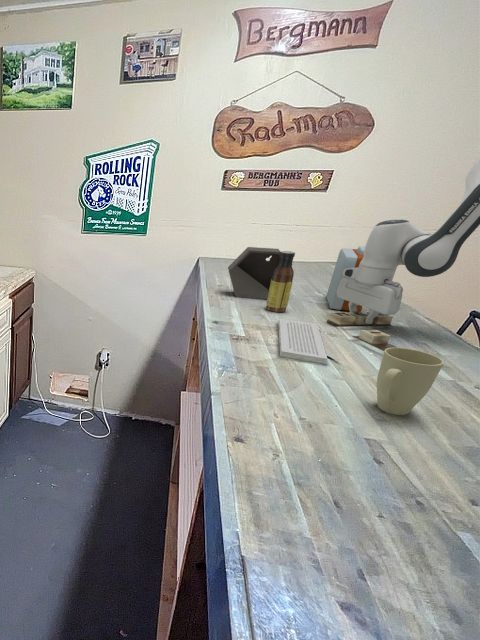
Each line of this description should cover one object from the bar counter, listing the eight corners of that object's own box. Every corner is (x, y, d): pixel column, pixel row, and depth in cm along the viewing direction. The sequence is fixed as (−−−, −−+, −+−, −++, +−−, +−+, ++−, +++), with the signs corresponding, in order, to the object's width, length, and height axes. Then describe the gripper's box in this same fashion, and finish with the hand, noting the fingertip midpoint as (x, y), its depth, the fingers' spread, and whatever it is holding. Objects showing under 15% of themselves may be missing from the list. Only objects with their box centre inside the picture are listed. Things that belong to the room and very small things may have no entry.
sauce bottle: (281, 308, 159) (296, 250, 151) (288, 313, 153) (304, 253, 145) (261, 307, 160) (275, 249, 152) (267, 312, 154) (282, 253, 146)
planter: (217, 282, 173) (262, 237, 162) (217, 278, 179) (259, 234, 168) (253, 310, 171) (301, 267, 160) (251, 305, 178) (297, 263, 167)
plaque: (279, 318, 143) (317, 323, 139) (278, 323, 144) (315, 328, 140) (281, 351, 119) (327, 358, 115) (280, 356, 119) (325, 364, 115)
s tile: (346, 319, 145) (348, 311, 144) (360, 319, 145) (362, 311, 144) (357, 324, 140) (360, 316, 139) (371, 324, 141) (374, 316, 140)
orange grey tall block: (360, 313, 153) (381, 252, 145) (329, 309, 157) (348, 249, 149) (353, 300, 168) (372, 243, 160) (325, 297, 172) (342, 241, 164)
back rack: (375, 321, 146) (379, 310, 145) (391, 327, 141) (395, 316, 139) (325, 322, 145) (329, 311, 144) (339, 328, 140) (343, 317, 138)
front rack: (370, 338, 132) (374, 327, 130) (420, 361, 117) (425, 348, 116) (350, 339, 131) (354, 327, 130) (397, 361, 117) (402, 348, 115)
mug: (354, 394, 100) (373, 344, 95) (410, 403, 96) (432, 351, 92) (369, 418, 91) (390, 363, 86) (432, 429, 87) (458, 372, 82)
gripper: (415, 284, 127) (397, 330, 133) (358, 268, 146) (345, 309, 152) (393, 284, 127) (376, 331, 133) (339, 268, 146) (326, 310, 151)
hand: (359, 319), depth 142 cm, fingers closed on s tile, 4 cm apart
